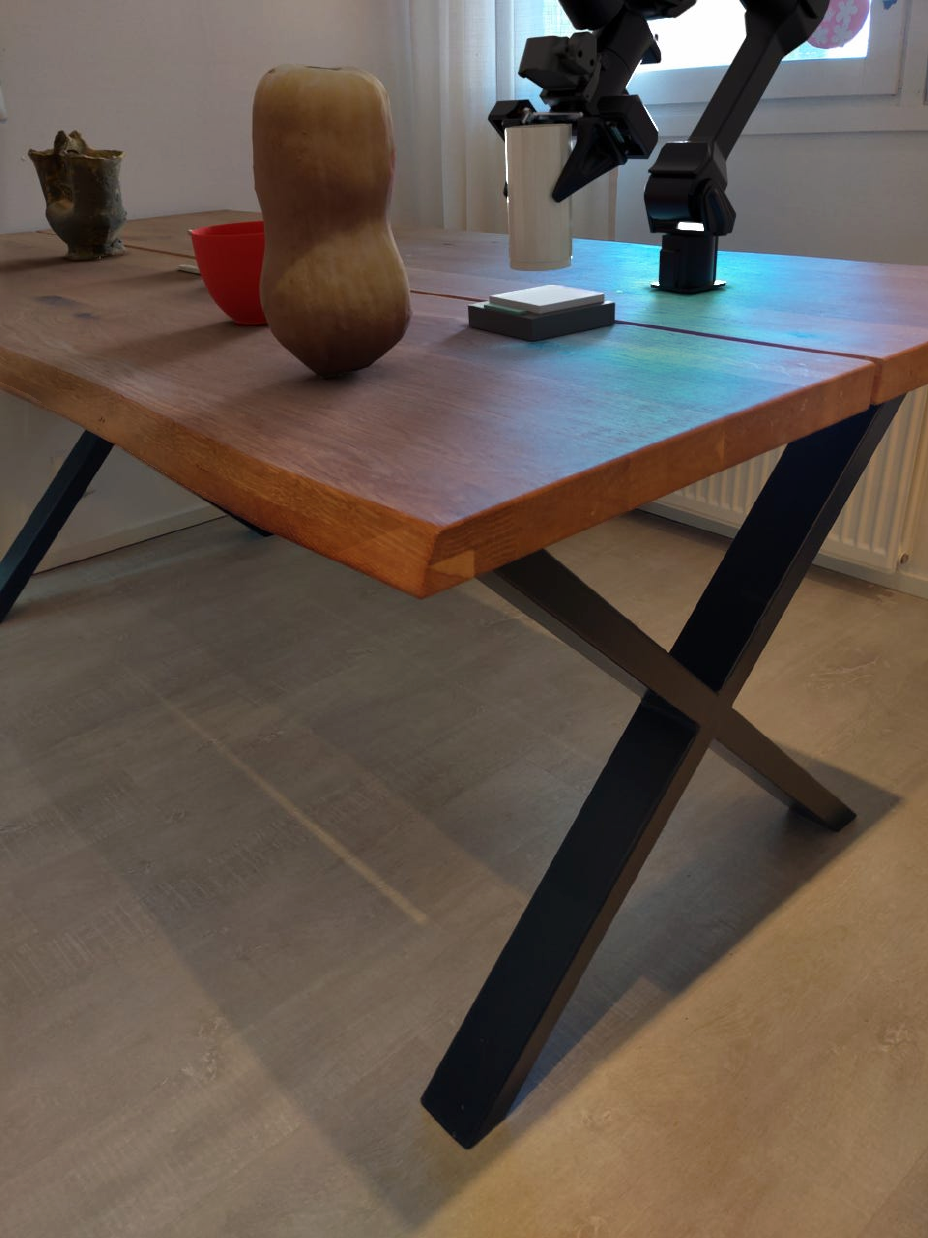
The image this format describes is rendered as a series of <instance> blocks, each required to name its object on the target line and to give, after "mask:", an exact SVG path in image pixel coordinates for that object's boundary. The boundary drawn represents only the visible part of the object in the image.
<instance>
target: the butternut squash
mask: <svg viewBox="0 0 928 1238" xmlns="http://www.w3.org/2000/svg"><path fill="white" fill-rule="evenodd" d="M251 113H252V114H251V115H252V117H251V120H252V121H251V122H252V123H251V140H252V160H253V161H252V162H253V163H252V171H253V180H254V191H255V193H256V194H255V195H256V197H257V201H258V205H259V207H260V208H259V209H260V211H261V216H262V221H263V222H264V234H265V252H264V258H263V265H262V271H261V278H260V301H261V306H262V308H263V310H262V311H263V312H264V314H265V317H266V320H267V323H268V324H267V325H268V327H269V330H270V332H271V333H272V335H273V337H274V338H275V339H276V340H277V342H278V343H279V344H280V345H281V346H282V347H283V348H284V349H286V350H287V351H288V352H289V353H290V354H291V355H292V356H294V357H295V358H296V359H297V360H298V361H300V363H302V364H303V365H304V366H305V367H307V368H308V369H309V370H310V371H312V372H313V373H314V374H315V375H316V376H317V377H319V378H321V379H330V378H335V377H340V376H342V375H345V374H347V373H353V372H357V371H360V370H363V369H367V368H369V367H371V366H372V365H373V364H374V363H376V361H378V360H379V359H381V358H382V357H384V356H385V354H387V353H388V352H389V351H391V350H392V349H394V347H396V346H397V344H399V343H400V341H402V340H403V338H404V336H405V334H406V332H407V330H408V328H409V327H410V324H411V320H412V317H413V309H412V299H411V289H410V282H409V277H408V274H407V271H406V268H405V264H404V262H403V259H402V256H401V253H400V251H399V249H398V246H397V243H396V239H395V238H394V234H393V230H392V226H391V205H392V197H393V188H394V178H395V177H394V176H395V166H396V165H395V163H396V153H397V148H396V141H395V133H394V122H393V115H392V110H391V102H390V97H389V94H388V93H387V90H386V88H385V86H384V85H383V84H382V82H381V81H380V80H379V79H378V78H377V77H376V76H374V75H373V74H372V73H370V72H368V71H366V70H364V69H362V68H359V67H356V66H351V65H338V66H330V67H322V66H315V65H309V64H304V63H281V64H280V63H279V64H277V65H274V66H272V67H271V68H269V69H268V70H267V71H266V72H265V73H264V74H263V75H262V76H261V78H260V79H259V81H258V84H257V86H256V90H255V93H254V97H253V104H252V112H251Z"/></svg>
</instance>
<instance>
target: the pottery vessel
mask: <svg viewBox="0 0 928 1238" xmlns="http://www.w3.org/2000/svg"><path fill="white" fill-rule="evenodd" d="M27 157H28V158H29V160H30V161H31V162H32V164H33V166H34V168H35V171H36V175H37V178H38V180H39V184H40V188H41V191H42V194H43V198H44V200H45V214H44V215H45V218H46V221H47V223H48V224H49V227H50V228H51V229H52V230H53V232H54V233H55V234H56V235H57V237H58V238H59V239H60V240H61V241H62V242H63V243H64V244H66V245H67V253H66V254H65V257H66V259H68V260H70V261H88V260H92V261H93V260H94V261H95V260H101V257H103V256H104V257H108V256H113V255H114V254H115V250H116V249H117V250H119V251H120V252H123V253H125V254H126V253H127V249H126V247H125V245H124V244H123V242H122V241H123V240H121V236H120V235H121V233H122V231H123V229H124V226H125V225H126V221H127V215H128V212H127V211H126V209H125V207H124V206H123V198H122V189H121V187H122V186H121V168H122V167H121V166H122V162H123V160H124V158H125V157H126V152H125V151H123V150H119V149H98V148H97V149H96V148H92V147H91V146H90V145H89V143H88V142H87V140H85V139H84V138H83V134H82V133H81V132H80V131H79V130H75V129H73V130H72V131H71V132H70V133H67V132H65V130H64V129H62V130H58V131H57V133H56V135H55V137H54V141H53V148H47V149H45V150H36V149H33V148H29V149H28V151H27Z"/></svg>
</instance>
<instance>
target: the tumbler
mask: <svg viewBox="0 0 928 1238" xmlns="http://www.w3.org/2000/svg"><path fill="white" fill-rule="evenodd" d="M505 140H506V144H505V166H506V167H505V168H506V169H505V171H506V173H507V199H506V200H507V201H506V202H507V230H508V258H509V268H510V269H511V270H513V271H520V272H547V271H556V270H562V269H566V268H569V267H571V266H573V253H574V252H573V194H572V195H571V196H569V197H568V198H566V199H565V200H563V201H562V202H560V203H556V202H555V201H554V199H553V198H552V192H553V190H554V187H555V185H556V183H557V180H558V178H559V176H560V174H561V172H562V170H563V168H564V166H565V164H566V162H567V160H568V158H569V156H570V154H571V153H572V151H573V140H572V124H540V125H525V126H514V127H507V128H505Z"/></svg>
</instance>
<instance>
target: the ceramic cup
mask: <svg viewBox="0 0 928 1238" xmlns="http://www.w3.org/2000/svg"><path fill="white" fill-rule="evenodd" d="M192 230H193V231H192V232H191V235H190V238H191V243H192V244H191V245H192V249H193V252H194V256H195V260H196V264H197V267H199V271H200V274H199V275H200V277H201V279H202V281H203V284H204V286H205V288H206V290H207V292H208V294H209V296H210V298H212V300H213V301H214V303H215V304H216V306H217V307H219V309H220V310H221V311H222V312H224V314H225V315H226V316H228V317H229V318H230V319H231V320H232V322H233V323H235V324H238V325H244V326H245V325H246V326H247V325H249V326H251V325H253V326H254V325H255V326H257V325H268V323H267V320H266V317H265V314H264V312H263V311H262V310H263V308H262V306H261V301H260V278H261V271H262V265H263V258H264V252H265V234H264V222H263V220H253V221H240V222H231V223H223V224H222V223H221V224H215V225H209V226H204V227H200V228H196V229H192Z"/></svg>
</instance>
